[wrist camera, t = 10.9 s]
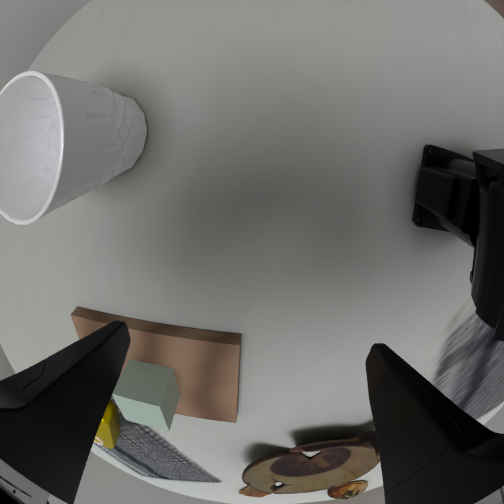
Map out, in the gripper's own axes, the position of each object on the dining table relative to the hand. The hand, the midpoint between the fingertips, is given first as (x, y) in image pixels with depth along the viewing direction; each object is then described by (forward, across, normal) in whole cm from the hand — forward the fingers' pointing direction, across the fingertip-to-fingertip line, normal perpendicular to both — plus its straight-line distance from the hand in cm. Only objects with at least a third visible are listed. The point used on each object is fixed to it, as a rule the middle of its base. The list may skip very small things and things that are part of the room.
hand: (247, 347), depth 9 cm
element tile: (+13, +28, +33) cm, 46 cm away
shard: (+13, -3, +64) cm, 65 cm away
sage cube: (+10, +10, +17) cm, 22 cm away
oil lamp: (+12, -14, +36) cm, 41 cm away
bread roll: (+12, -28, +65) cm, 72 cm away
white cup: (+12, +12, -7) cm, 18 cm away
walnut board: (+12, +10, +17) cm, 23 cm away
